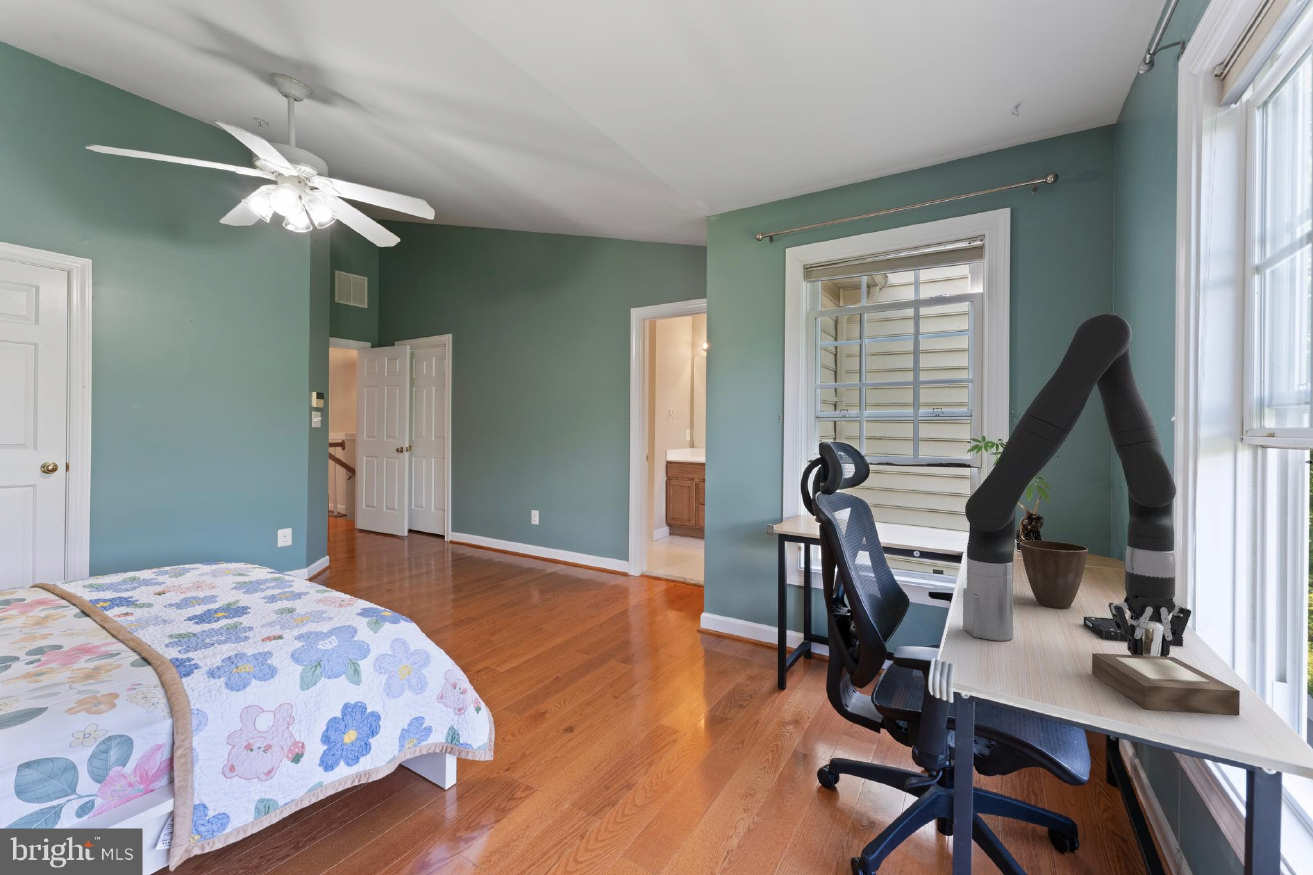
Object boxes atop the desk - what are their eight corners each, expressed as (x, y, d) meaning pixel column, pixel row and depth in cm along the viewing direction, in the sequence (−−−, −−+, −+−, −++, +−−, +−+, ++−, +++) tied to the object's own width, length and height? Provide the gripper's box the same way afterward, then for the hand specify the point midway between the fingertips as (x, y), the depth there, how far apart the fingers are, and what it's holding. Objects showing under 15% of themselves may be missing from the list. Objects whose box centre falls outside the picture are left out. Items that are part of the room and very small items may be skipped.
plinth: (1145, 709, 94) (1145, 683, 94) (1092, 673, 108) (1092, 651, 108) (1239, 714, 92) (1239, 688, 92) (1173, 677, 106) (1173, 655, 106)
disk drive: (1104, 643, 126) (1184, 648, 122) (1104, 630, 125) (1184, 635, 122) (1082, 627, 136) (1155, 632, 132) (1082, 615, 136) (1155, 620, 132)
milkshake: (1173, 670, 109) (1175, 619, 109) (1141, 667, 110) (1143, 617, 110) (1157, 661, 114) (1159, 612, 114) (1127, 658, 115) (1129, 610, 115)
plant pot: (1006, 599, 156) (1007, 541, 156) (1046, 594, 161) (1047, 538, 160) (1059, 615, 142) (1060, 552, 142) (1102, 610, 146) (1102, 549, 146)
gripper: (1123, 574, 109) (1121, 662, 109) (1205, 577, 107) (1204, 666, 107) (1098, 565, 117) (1097, 647, 117) (1174, 567, 115) (1173, 651, 115)
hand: (1148, 655), depth 112 cm, fingers closed on milkshake, 4 cm apart
